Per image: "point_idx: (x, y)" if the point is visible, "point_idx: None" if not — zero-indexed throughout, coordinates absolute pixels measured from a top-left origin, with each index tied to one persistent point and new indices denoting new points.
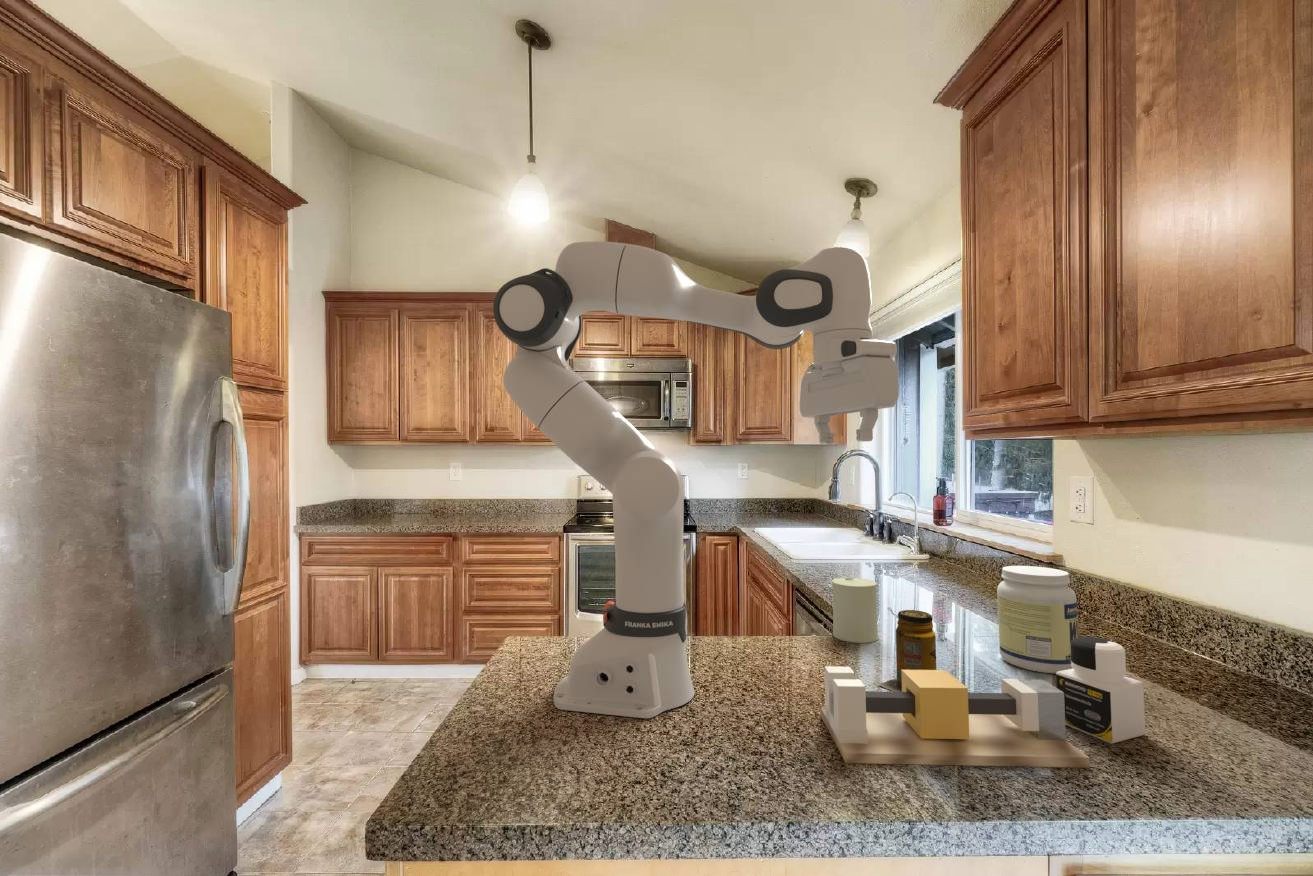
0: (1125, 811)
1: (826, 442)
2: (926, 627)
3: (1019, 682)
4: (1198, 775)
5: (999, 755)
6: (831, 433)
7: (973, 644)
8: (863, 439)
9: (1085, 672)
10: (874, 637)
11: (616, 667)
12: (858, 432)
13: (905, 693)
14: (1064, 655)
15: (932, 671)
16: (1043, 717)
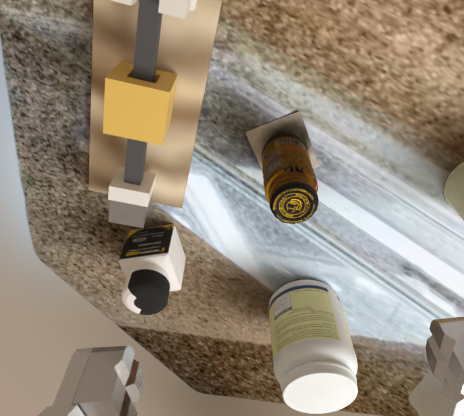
0: (26, 158)
1: (434, 326)
2: (269, 199)
3: (137, 203)
4: (81, 244)
5: (91, 119)
6: (454, 403)
7: (377, 287)
8: (77, 352)
9: (140, 266)
10: (447, 198)
11: None
12: (93, 383)
13: (147, 74)
14: (269, 315)
15: (159, 127)
16: None
